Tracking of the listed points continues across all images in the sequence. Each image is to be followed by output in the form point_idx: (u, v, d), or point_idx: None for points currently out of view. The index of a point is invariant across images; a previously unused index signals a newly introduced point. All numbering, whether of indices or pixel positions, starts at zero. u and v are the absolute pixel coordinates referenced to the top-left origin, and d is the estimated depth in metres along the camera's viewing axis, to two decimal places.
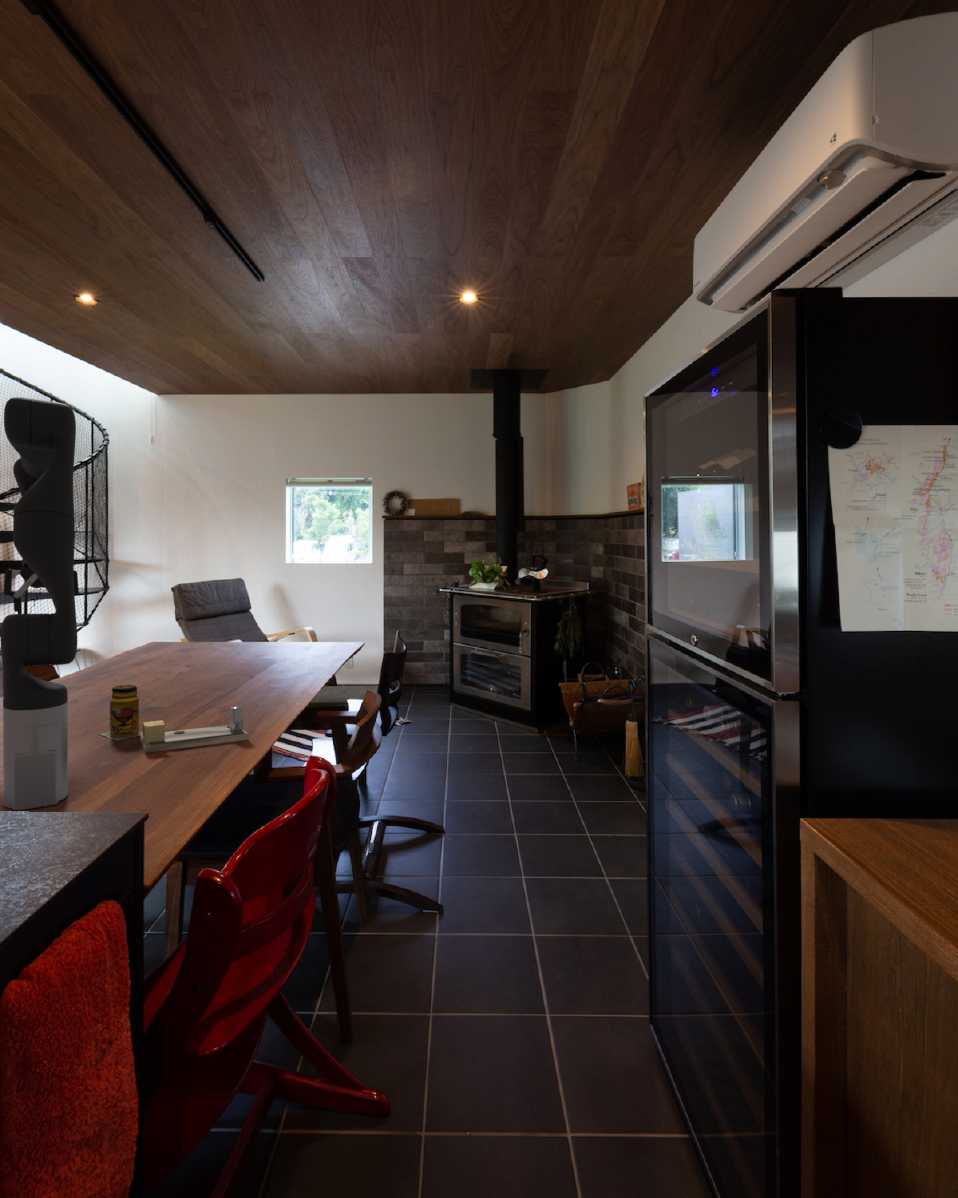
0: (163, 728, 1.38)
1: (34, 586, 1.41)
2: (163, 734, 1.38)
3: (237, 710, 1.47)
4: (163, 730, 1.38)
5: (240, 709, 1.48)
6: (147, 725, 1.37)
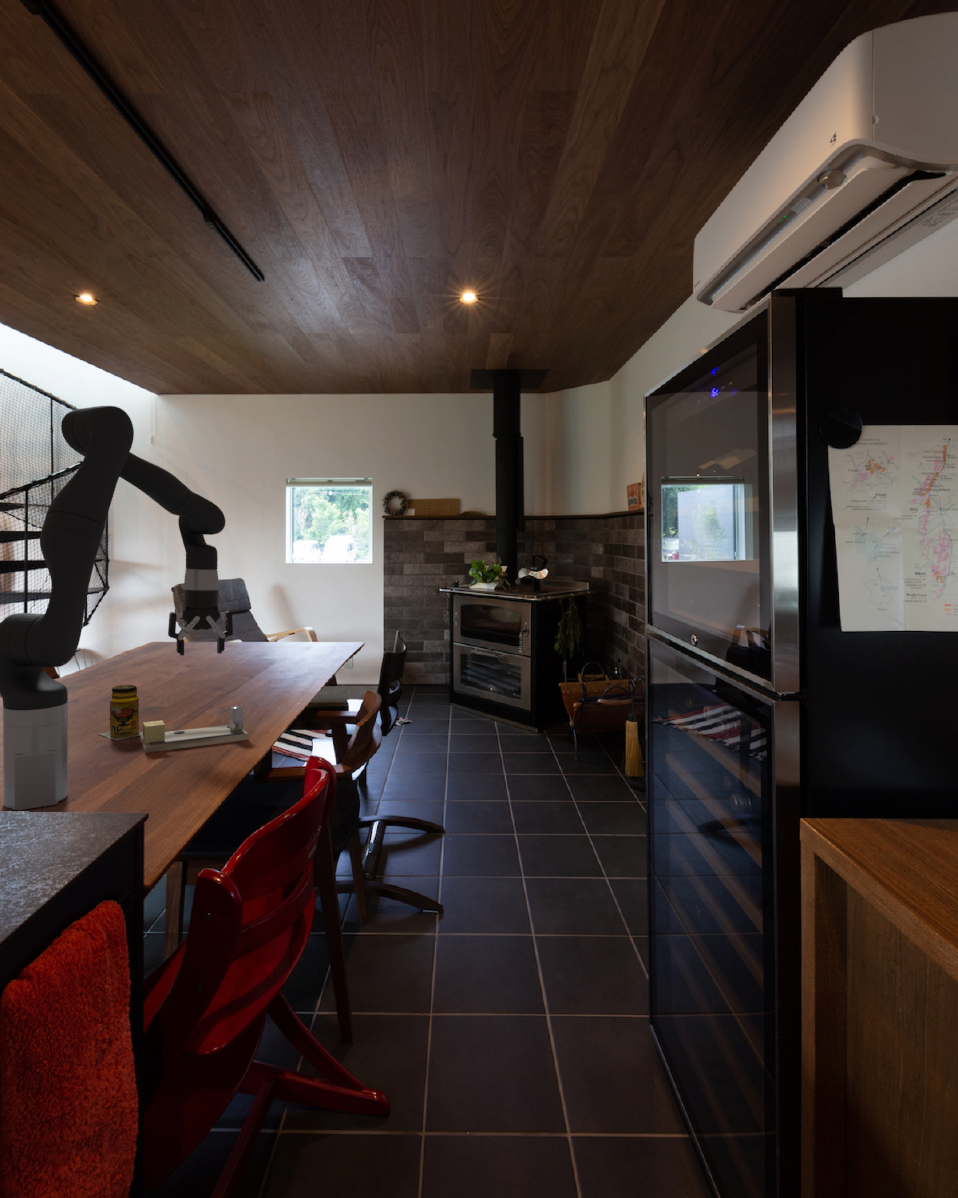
0: (163, 728, 1.38)
1: (195, 628, 1.46)
2: (163, 734, 1.38)
3: (237, 710, 1.47)
4: (163, 730, 1.38)
5: (240, 709, 1.48)
6: (147, 725, 1.37)
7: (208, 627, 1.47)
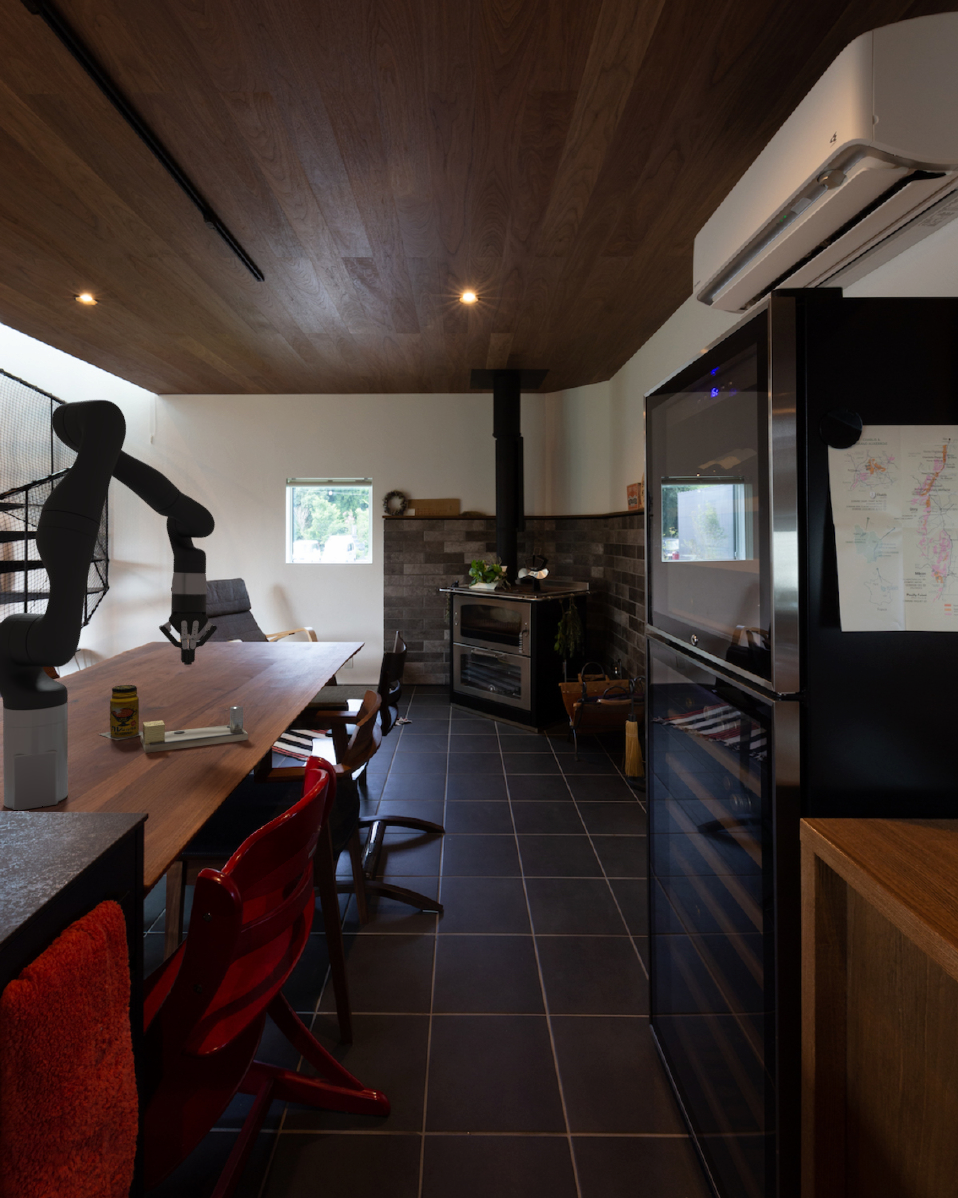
0: (163, 728, 1.38)
1: None
2: (163, 734, 1.38)
3: (237, 710, 1.47)
4: (163, 730, 1.38)
5: (240, 709, 1.48)
6: (147, 725, 1.37)
7: None
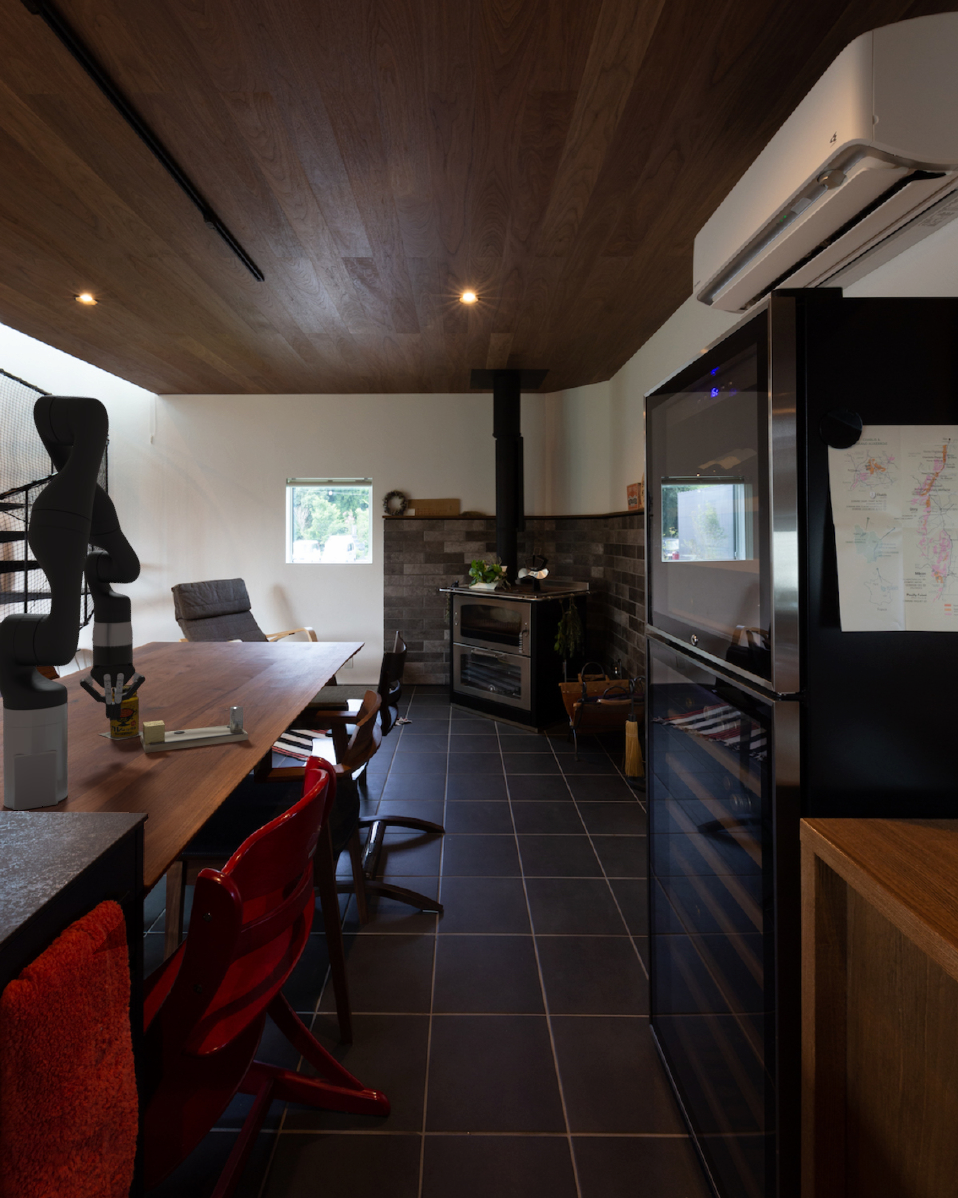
0: (163, 728, 1.38)
1: None
2: (163, 734, 1.38)
3: (237, 710, 1.47)
4: (163, 730, 1.38)
5: (240, 709, 1.48)
6: (147, 725, 1.37)
7: None
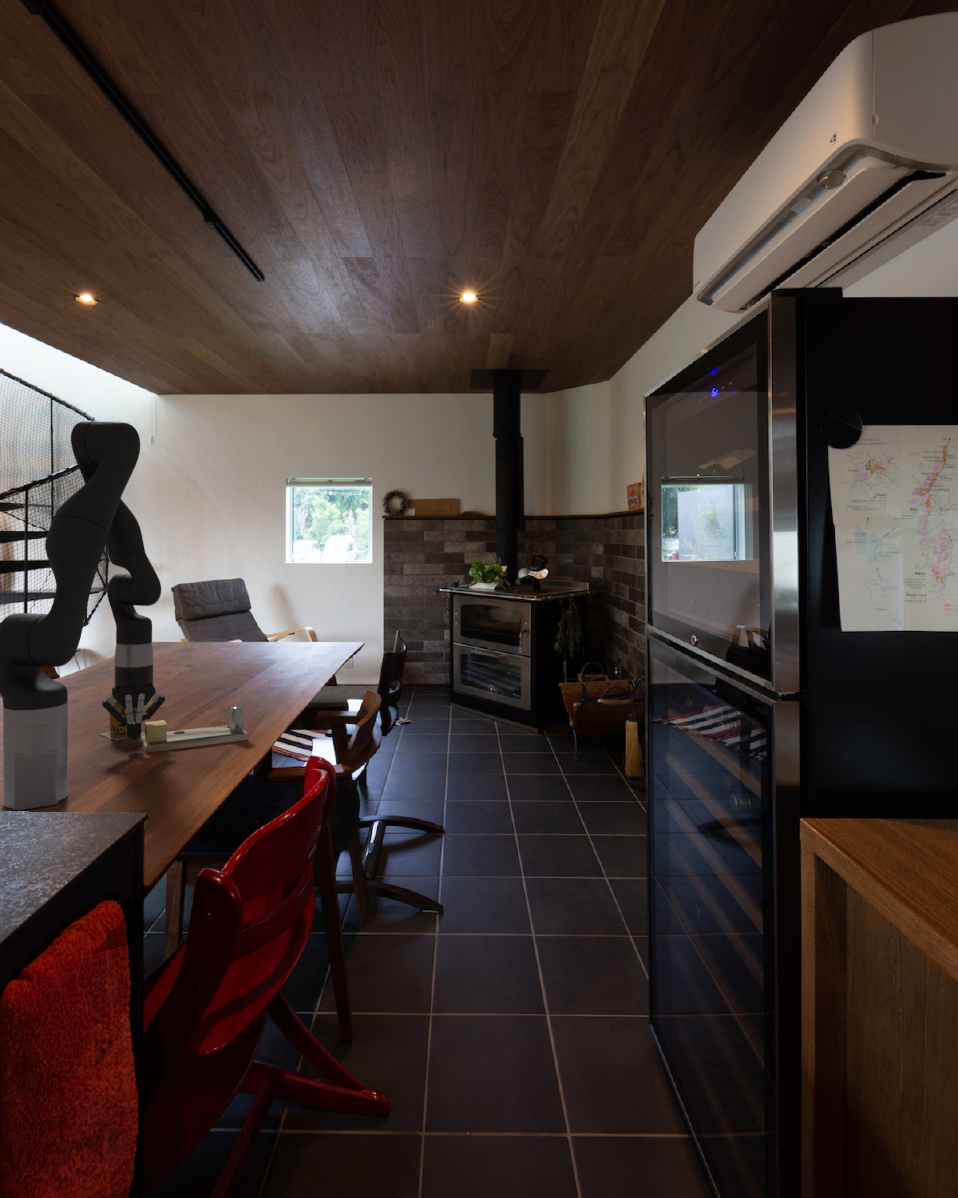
0: (165, 728, 1.38)
1: None
2: (165, 734, 1.38)
3: (237, 710, 1.47)
4: (165, 730, 1.38)
5: (240, 709, 1.48)
6: (149, 725, 1.37)
7: None
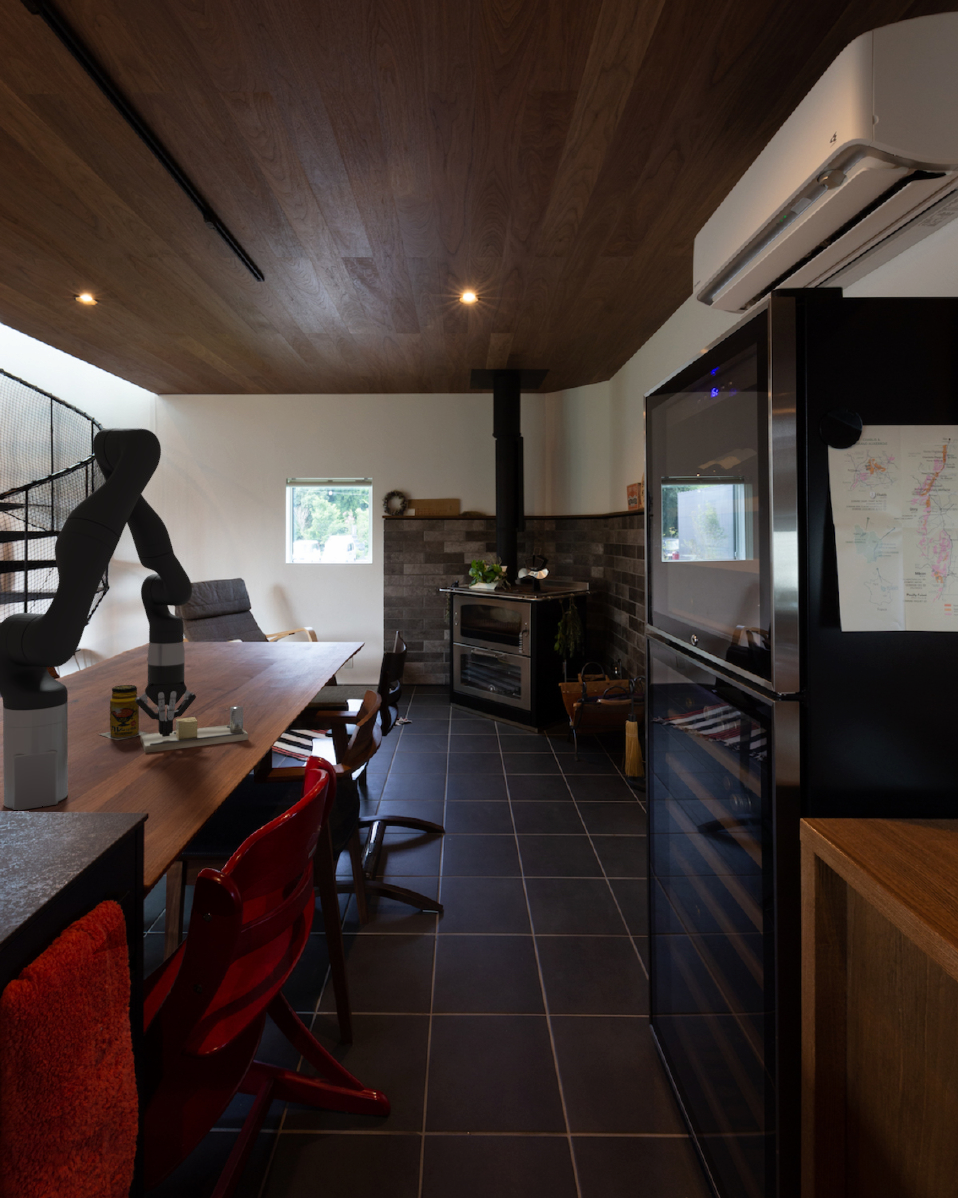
0: (196, 724, 1.42)
1: None
2: (196, 730, 1.42)
3: (237, 710, 1.47)
4: (196, 726, 1.42)
5: (240, 709, 1.48)
6: (180, 721, 1.40)
7: None
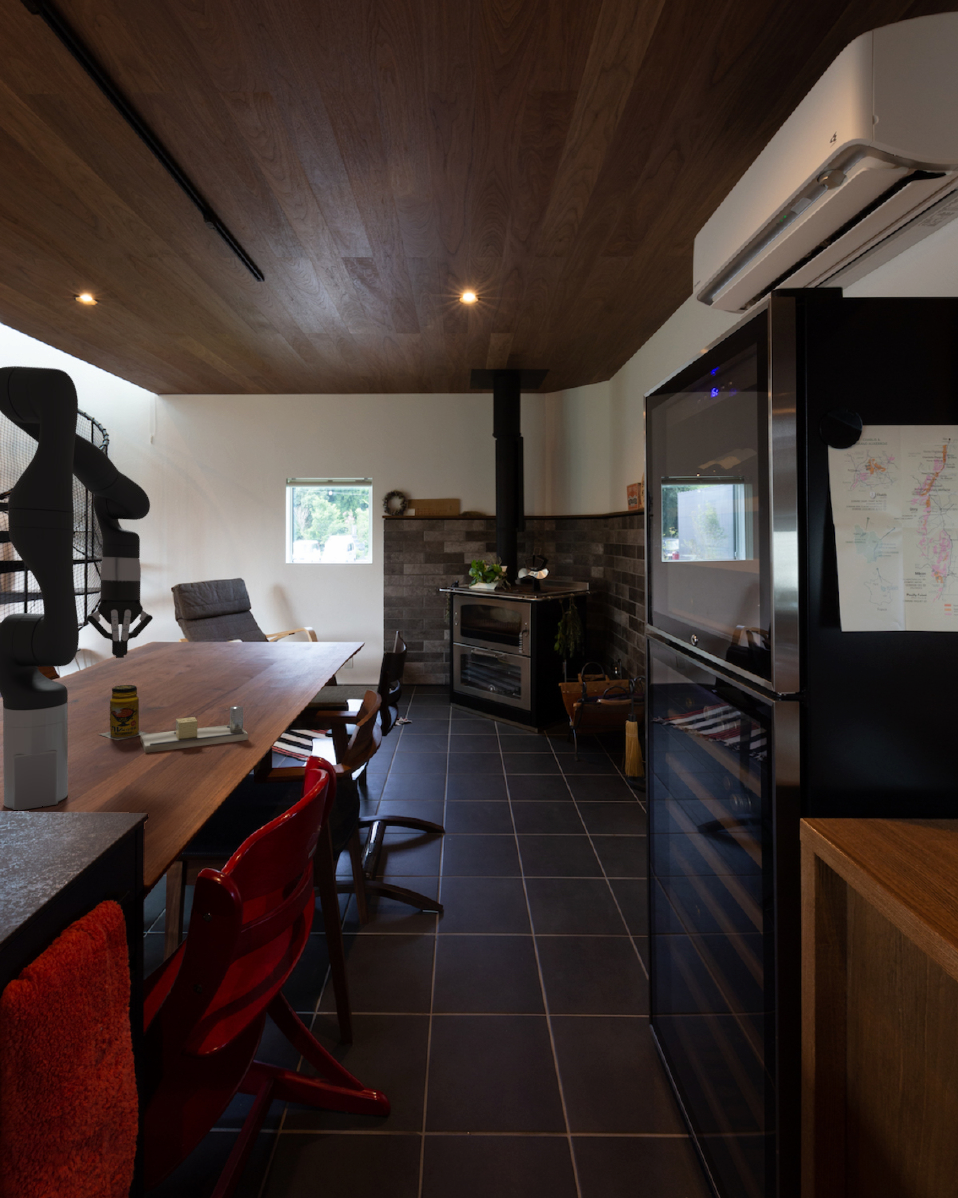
0: (196, 724, 1.42)
1: None
2: (196, 730, 1.42)
3: (237, 710, 1.47)
4: (196, 726, 1.42)
5: (240, 709, 1.48)
6: (180, 721, 1.40)
7: None
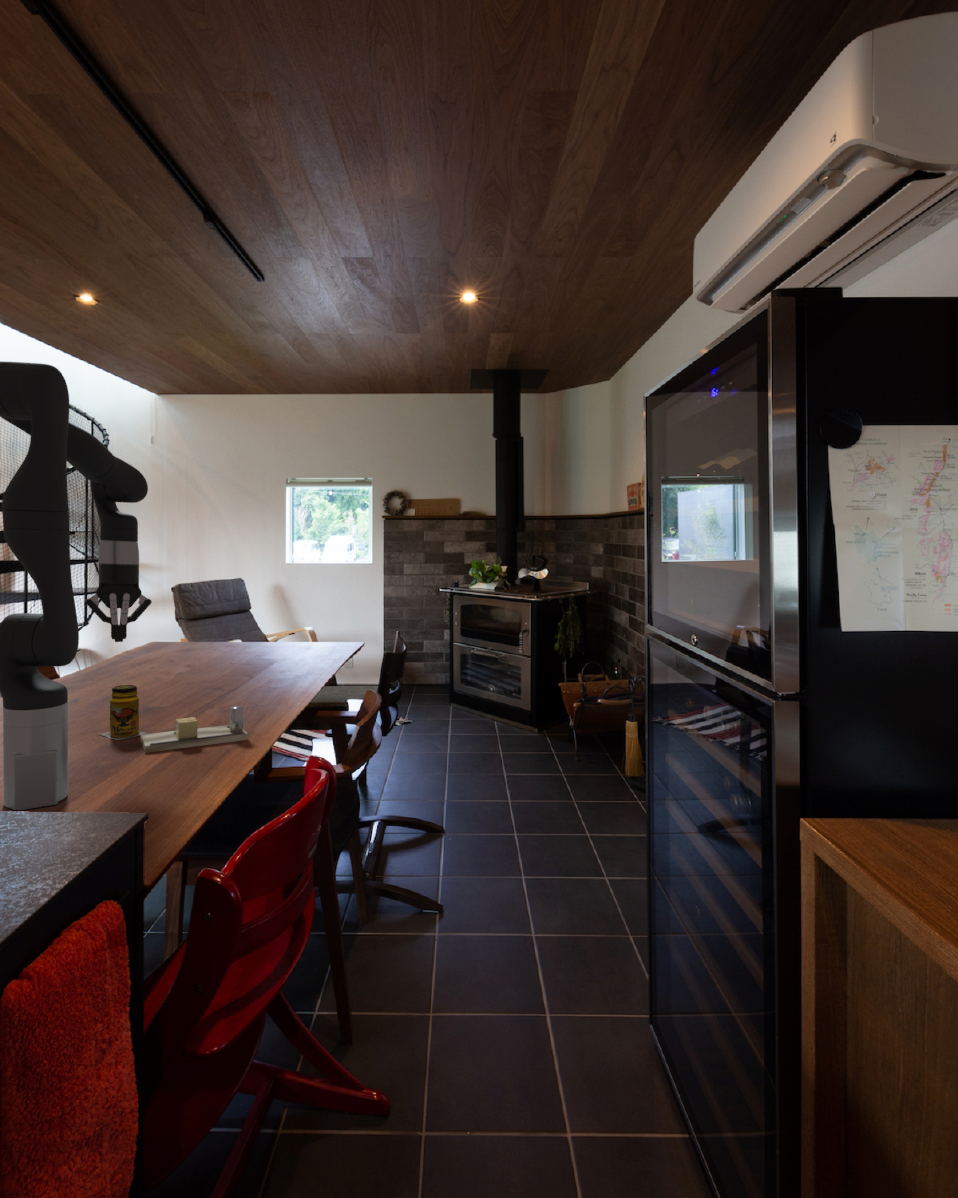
0: (196, 724, 1.42)
1: None
2: (196, 730, 1.42)
3: (237, 710, 1.47)
4: (196, 726, 1.42)
5: (240, 709, 1.48)
6: (180, 721, 1.40)
7: None
